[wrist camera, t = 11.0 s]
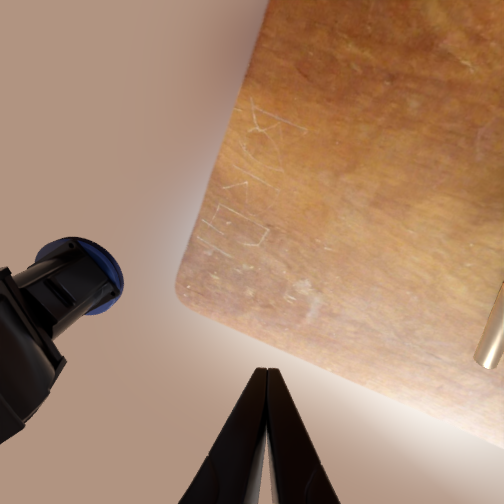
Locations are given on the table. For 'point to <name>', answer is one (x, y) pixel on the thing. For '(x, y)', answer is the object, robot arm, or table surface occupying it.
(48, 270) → the robot arm
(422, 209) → the table surface
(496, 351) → the switch lever
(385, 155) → the table surface
